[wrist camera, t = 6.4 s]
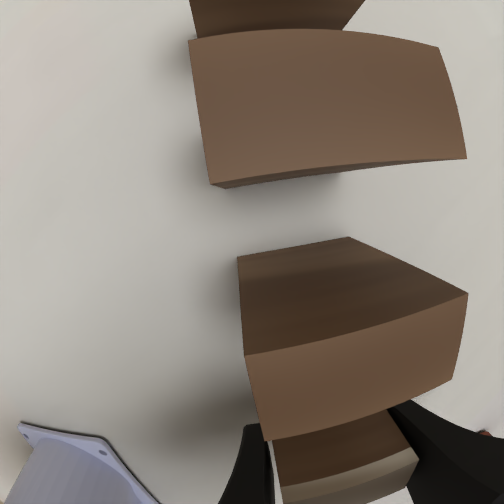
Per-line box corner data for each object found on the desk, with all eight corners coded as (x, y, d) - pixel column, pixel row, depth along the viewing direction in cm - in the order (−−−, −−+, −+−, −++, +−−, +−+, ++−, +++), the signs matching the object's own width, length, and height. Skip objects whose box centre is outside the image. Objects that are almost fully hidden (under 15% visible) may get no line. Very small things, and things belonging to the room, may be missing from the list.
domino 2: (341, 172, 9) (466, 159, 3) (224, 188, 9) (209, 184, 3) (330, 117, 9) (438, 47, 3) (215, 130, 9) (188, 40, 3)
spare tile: (351, 392, 11) (404, 487, 6) (267, 412, 11) (288, 524, 5) (352, 360, 11) (419, 459, 5) (261, 380, 11) (283, 503, 5)
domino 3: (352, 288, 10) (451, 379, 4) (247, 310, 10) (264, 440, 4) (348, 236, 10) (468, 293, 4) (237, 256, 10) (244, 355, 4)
